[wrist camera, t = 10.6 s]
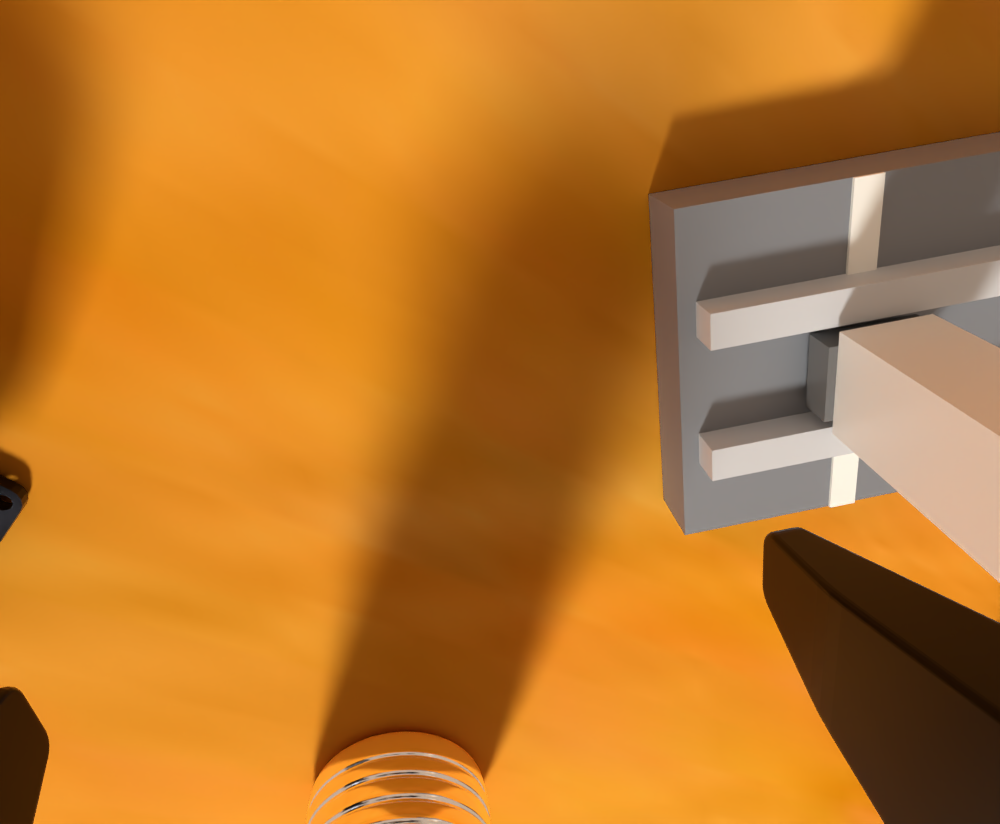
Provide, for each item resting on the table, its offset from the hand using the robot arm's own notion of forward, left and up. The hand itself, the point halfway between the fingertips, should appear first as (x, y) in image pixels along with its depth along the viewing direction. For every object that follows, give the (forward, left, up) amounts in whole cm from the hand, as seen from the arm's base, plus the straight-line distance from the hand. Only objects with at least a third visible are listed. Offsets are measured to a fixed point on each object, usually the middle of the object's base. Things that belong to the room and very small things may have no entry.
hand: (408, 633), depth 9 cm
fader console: (+10, -13, -13) cm, 21 cm away
